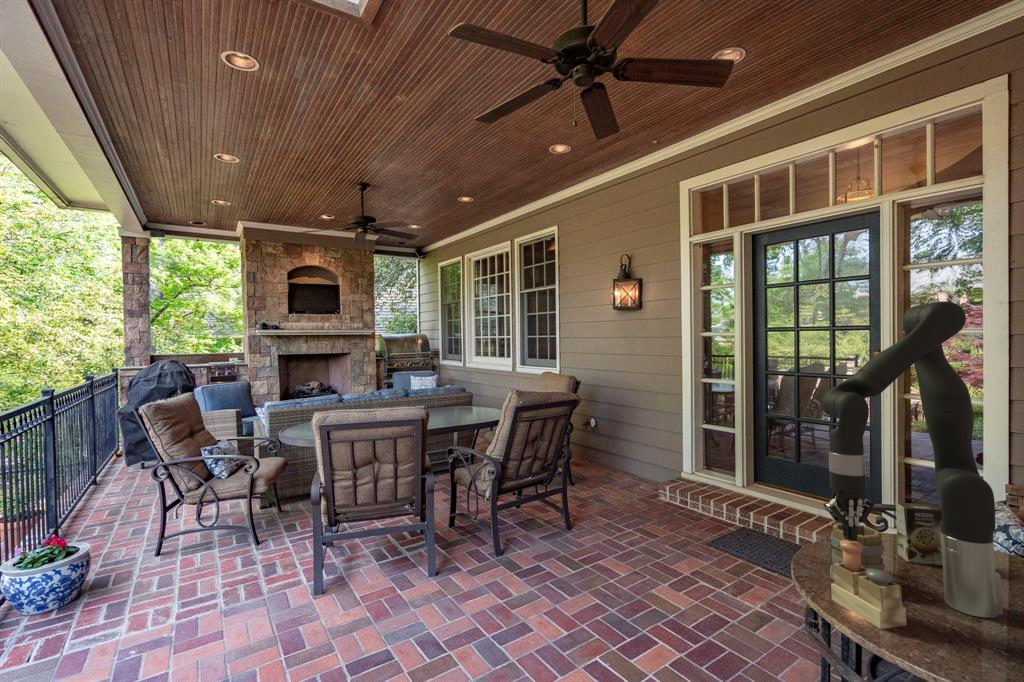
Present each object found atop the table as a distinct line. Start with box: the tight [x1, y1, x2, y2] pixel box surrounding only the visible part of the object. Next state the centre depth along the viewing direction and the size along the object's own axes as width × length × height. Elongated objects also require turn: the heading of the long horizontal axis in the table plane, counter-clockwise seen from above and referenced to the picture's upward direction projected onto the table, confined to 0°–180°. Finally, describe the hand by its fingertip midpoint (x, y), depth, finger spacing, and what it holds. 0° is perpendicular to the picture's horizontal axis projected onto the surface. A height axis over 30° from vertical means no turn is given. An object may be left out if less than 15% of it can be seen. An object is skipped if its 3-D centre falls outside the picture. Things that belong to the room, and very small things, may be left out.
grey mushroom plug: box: [866, 568, 892, 587], centre depth 108 cm, size 5×5×7 cm
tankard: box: [829, 522, 886, 581], centre depth 129 cm, size 20×13×15 cm, turn 143°
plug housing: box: [830, 563, 907, 630], centre depth 111 cm, size 7×13×9 cm, turn 9°
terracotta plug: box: [840, 540, 863, 573], centre depth 115 cm, size 5×5×7 cm
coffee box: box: [895, 501, 943, 566], centre depth 138 cm, size 9×6×16 cm
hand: (850, 539), depth 115 cm, fingers closed
